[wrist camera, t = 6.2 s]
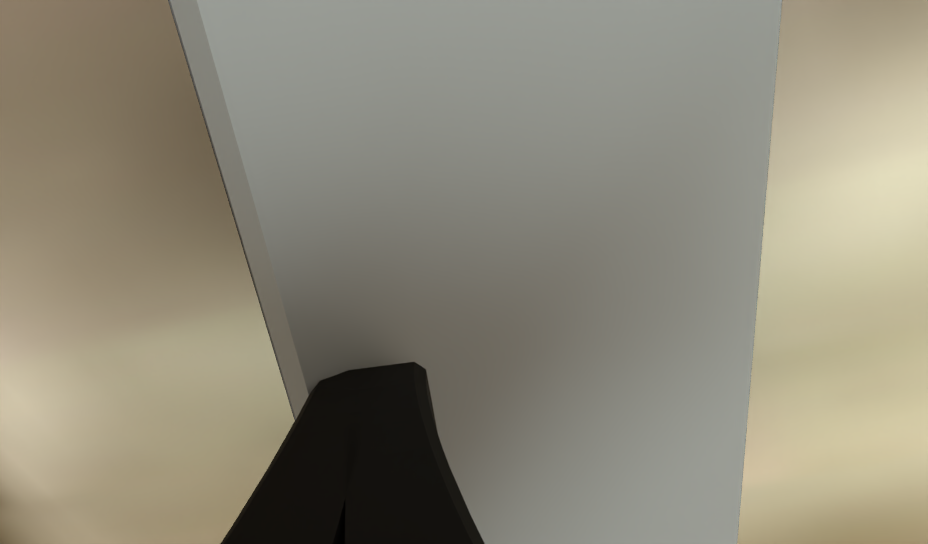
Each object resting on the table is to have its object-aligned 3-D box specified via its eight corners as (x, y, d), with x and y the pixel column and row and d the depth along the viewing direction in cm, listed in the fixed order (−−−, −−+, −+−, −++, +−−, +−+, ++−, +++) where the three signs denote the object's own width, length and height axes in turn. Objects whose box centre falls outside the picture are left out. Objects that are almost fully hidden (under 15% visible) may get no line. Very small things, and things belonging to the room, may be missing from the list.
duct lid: (711, 555, 18) (734, 572, 18) (418, 826, 14) (439, 856, 14) (780, -598, 9) (833, -621, 8) (-55, -745, 5) (-33, -803, 4)
